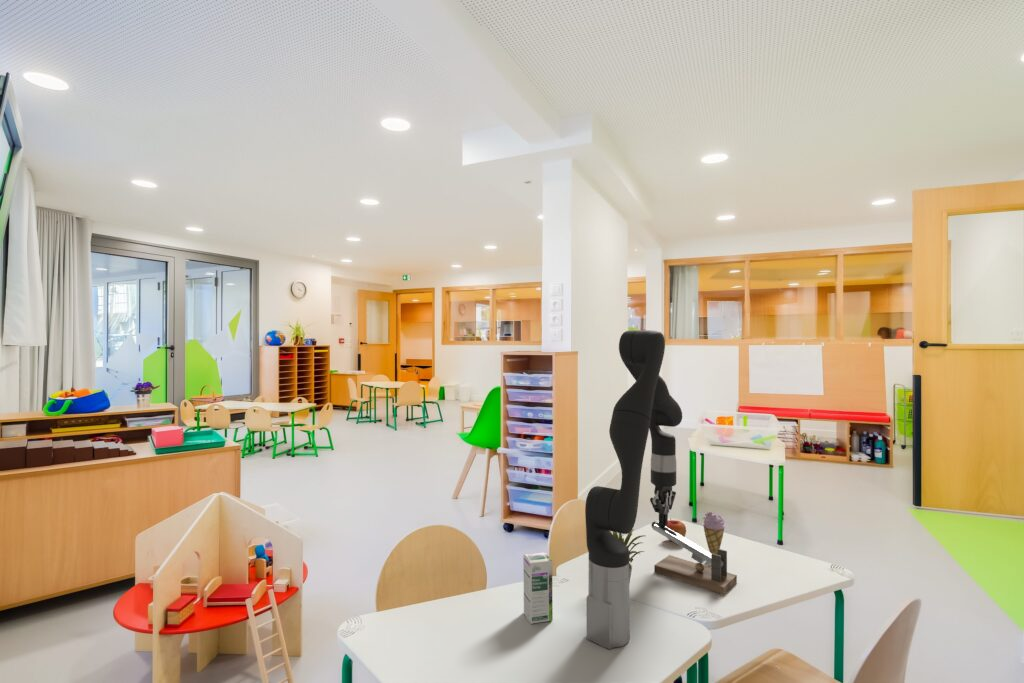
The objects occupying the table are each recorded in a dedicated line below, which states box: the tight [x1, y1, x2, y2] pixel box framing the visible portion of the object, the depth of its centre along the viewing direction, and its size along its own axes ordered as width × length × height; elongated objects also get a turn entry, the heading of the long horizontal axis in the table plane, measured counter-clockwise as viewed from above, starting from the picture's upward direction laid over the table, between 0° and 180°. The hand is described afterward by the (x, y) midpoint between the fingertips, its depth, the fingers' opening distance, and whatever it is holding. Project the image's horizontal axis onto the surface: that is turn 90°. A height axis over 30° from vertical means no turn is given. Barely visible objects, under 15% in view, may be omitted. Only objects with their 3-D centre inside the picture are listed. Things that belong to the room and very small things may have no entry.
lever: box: [651, 520, 725, 567], centre depth 142 cm, size 3×22×3 cm, turn 47°
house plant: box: [612, 528, 645, 585], centre depth 132 cm, size 14×14×16 cm
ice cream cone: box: [702, 511, 726, 555], centre depth 153 cm, size 7×6×15 cm
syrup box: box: [522, 551, 554, 625], centre depth 118 cm, size 6×6×14 cm
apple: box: [666, 518, 687, 543], centre depth 167 cm, size 7×7×8 cm
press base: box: [653, 548, 738, 596], centre depth 140 cm, size 10×20×9 cm, turn 47°
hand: (663, 525), depth 147 cm, fingers closed
